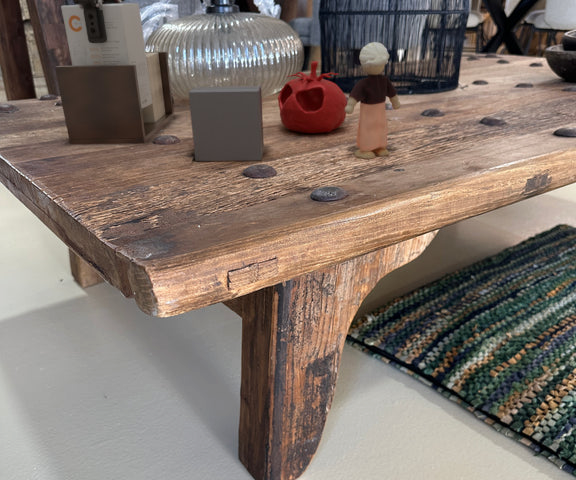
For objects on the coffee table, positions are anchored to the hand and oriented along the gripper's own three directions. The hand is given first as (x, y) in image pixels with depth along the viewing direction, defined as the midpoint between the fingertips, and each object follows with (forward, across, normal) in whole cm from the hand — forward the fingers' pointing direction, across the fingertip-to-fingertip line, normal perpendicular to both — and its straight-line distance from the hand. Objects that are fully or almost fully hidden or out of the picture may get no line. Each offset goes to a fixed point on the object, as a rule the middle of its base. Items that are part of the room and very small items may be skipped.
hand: (107, 40), depth 75 cm
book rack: (+13, -2, 0) cm, 13 cm away
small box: (+9, 0, 0) cm, 9 cm away
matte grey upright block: (+13, +12, +17) cm, 24 cm away
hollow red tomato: (+13, -3, +27) cm, 30 cm away
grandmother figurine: (+13, +12, +34) cm, 38 cm away
